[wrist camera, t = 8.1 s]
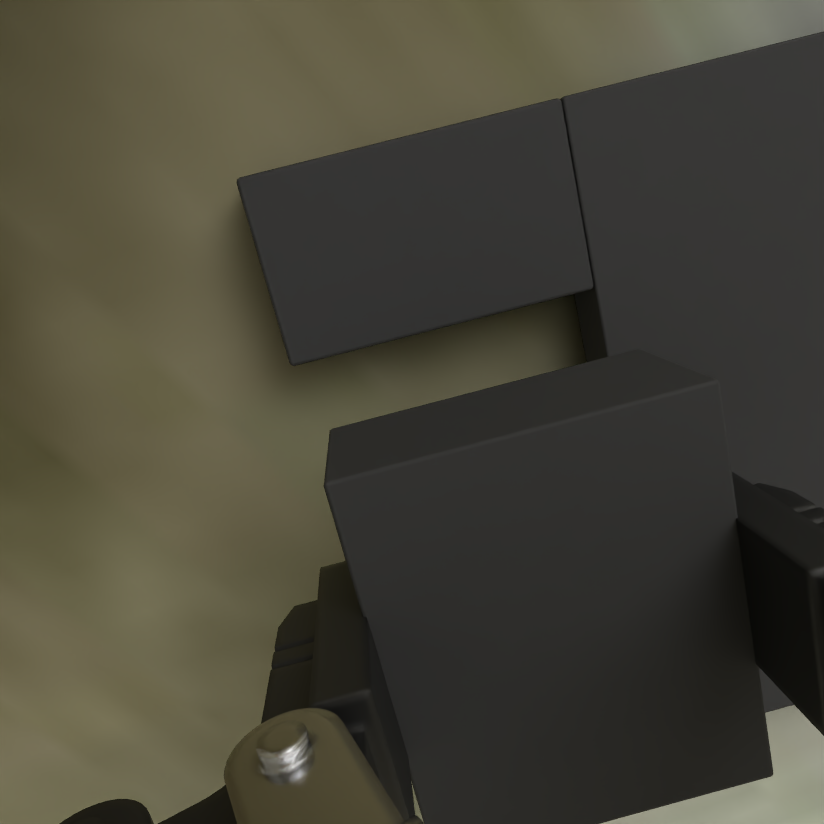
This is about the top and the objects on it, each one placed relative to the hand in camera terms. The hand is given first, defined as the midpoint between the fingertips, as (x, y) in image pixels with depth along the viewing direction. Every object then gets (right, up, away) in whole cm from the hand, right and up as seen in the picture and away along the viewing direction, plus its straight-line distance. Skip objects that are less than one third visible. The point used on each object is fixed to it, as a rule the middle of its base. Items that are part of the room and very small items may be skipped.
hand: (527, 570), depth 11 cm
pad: (0, 0, 0) cm, 0 cm away
